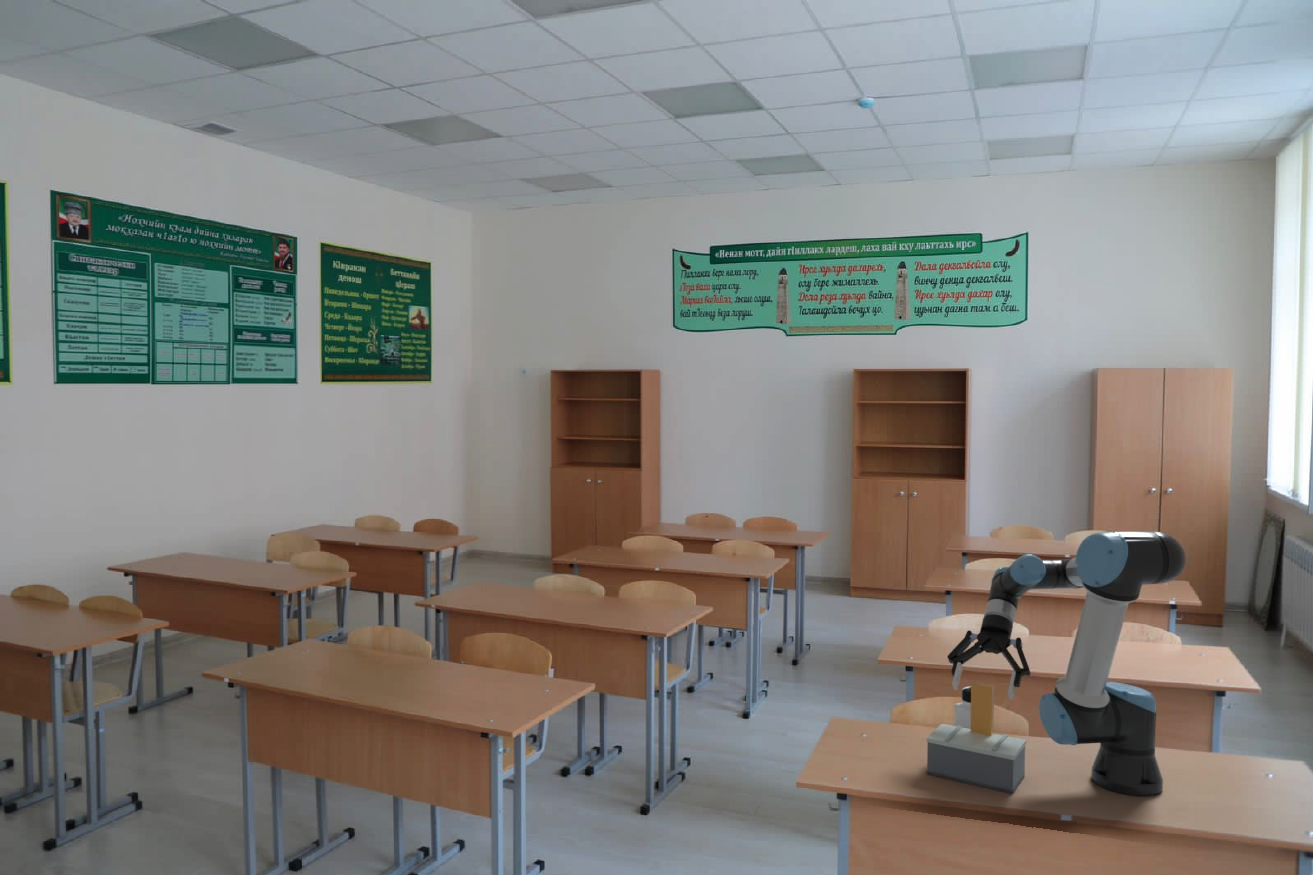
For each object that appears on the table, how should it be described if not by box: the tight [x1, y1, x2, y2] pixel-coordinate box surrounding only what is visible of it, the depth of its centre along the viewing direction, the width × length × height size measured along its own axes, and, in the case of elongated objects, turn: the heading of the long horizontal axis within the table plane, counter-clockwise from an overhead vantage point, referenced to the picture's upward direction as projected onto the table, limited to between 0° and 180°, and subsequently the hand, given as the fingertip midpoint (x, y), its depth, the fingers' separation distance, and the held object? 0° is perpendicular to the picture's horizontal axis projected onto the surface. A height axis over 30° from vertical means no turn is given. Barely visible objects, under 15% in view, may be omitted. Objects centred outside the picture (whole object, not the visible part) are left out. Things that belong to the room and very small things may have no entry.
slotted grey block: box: [926, 681, 1027, 760], centre depth 222 cm, size 20×12×14 cm, turn 56°
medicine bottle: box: [953, 685, 971, 729], centre depth 253 cm, size 7×7×12 cm
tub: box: [926, 742, 1026, 795], centre depth 222 cm, size 20×12×8 cm, turn 56°
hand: (981, 692), depth 229 cm, fingers open, 13 cm apart
